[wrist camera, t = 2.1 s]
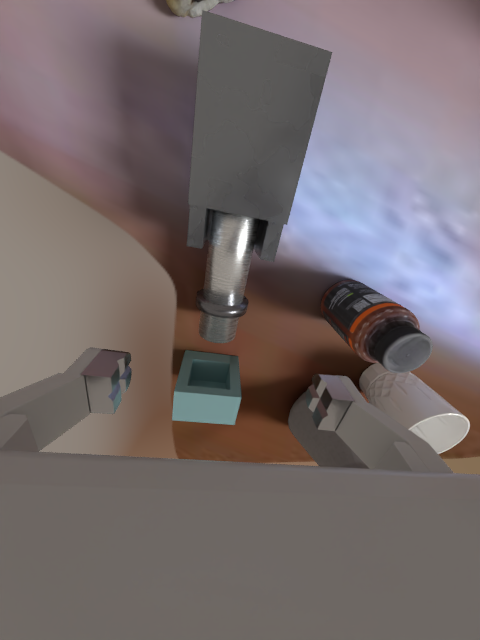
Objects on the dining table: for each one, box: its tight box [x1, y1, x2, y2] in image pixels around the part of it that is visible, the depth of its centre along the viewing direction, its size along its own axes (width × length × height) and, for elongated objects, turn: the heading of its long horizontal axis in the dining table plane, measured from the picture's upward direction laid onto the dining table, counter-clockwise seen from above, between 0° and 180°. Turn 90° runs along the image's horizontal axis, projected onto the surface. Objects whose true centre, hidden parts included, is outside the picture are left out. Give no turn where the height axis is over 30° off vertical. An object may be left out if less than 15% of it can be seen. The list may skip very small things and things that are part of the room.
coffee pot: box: [288, 391, 369, 469], centre depth 31 cm, size 21×12×15 cm, turn 141°
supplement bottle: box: [321, 280, 433, 373], centre depth 23 cm, size 6×6×11 cm
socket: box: [172, 350, 241, 425], centre depth 28 cm, size 4×7×7 cm, turn 79°
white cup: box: [359, 363, 470, 454], centre depth 30 cm, size 8×8×10 cm
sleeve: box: [187, 10, 332, 262], centre depth 18 cm, size 12×7×7 cm, turn 169°
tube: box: [196, 210, 260, 343], centre depth 20 cm, size 19×5×5 cm, turn 169°
